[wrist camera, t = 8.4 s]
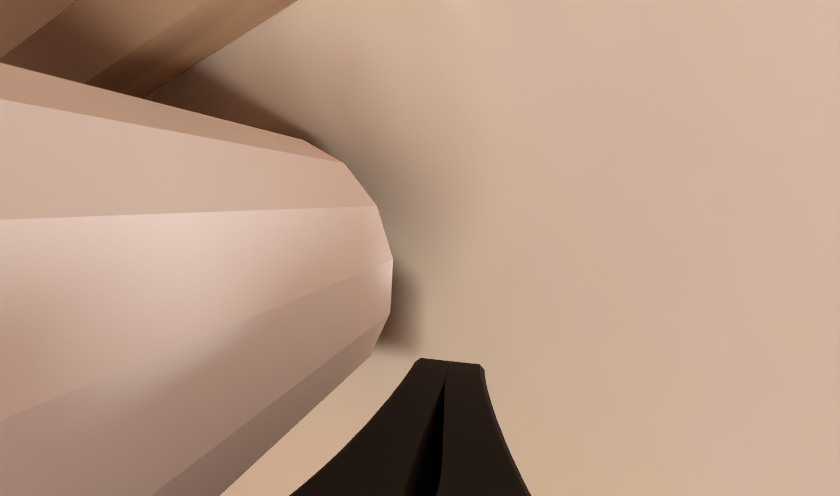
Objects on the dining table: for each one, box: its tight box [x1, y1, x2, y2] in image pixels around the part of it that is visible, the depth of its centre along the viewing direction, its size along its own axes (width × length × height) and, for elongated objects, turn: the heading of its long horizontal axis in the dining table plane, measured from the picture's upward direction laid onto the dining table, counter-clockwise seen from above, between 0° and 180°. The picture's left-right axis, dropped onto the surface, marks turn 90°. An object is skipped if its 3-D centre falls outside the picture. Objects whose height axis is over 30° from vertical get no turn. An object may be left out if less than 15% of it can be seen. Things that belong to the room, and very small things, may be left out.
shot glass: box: [0, 63, 393, 496], centre depth 8 cm, size 7×7×7 cm
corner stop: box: [0, 0, 297, 98], centre depth 11 cm, size 9×16×2 cm, turn 161°
